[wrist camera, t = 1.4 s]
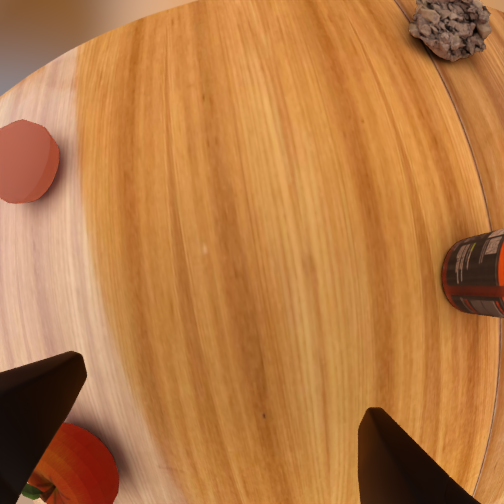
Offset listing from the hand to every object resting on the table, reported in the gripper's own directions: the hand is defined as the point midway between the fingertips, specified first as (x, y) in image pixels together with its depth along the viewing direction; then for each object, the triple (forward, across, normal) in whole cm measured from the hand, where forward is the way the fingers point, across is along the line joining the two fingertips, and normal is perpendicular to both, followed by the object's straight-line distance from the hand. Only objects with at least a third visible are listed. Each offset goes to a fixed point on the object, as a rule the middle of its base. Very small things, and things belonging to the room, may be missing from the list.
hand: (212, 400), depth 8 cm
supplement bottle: (+14, -17, -1) cm, 22 cm away
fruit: (+7, +14, +20) cm, 25 cm away
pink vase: (+16, +22, -5) cm, 28 cm away
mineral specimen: (+23, -17, -25) cm, 38 cm away
